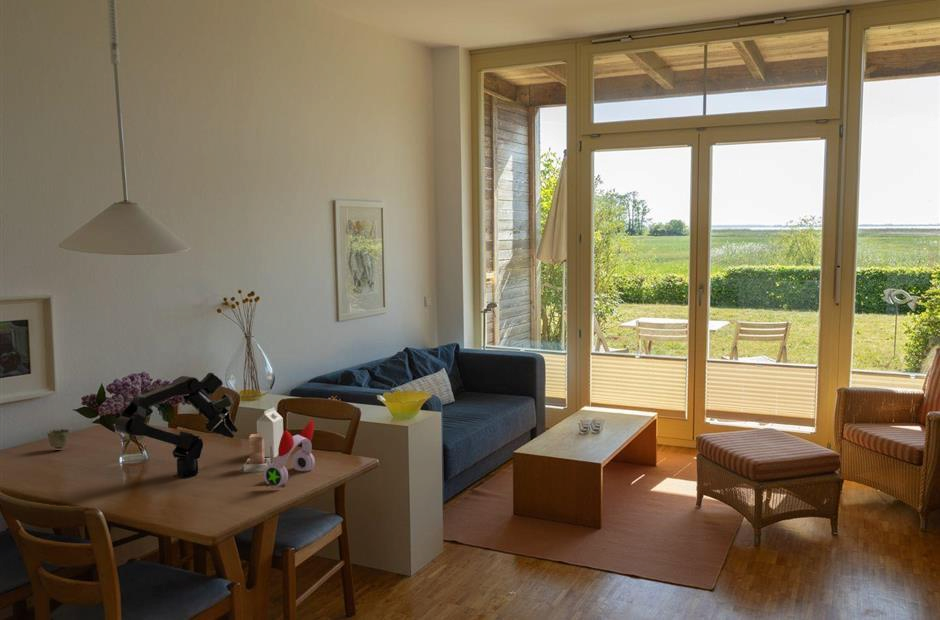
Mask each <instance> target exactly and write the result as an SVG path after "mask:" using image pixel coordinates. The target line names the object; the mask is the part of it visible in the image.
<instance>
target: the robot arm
mask: <svg viewBox="0 0 940 620" xmlns="http://www.w3.org/2000/svg"><path fill="white" fill-rule="evenodd" d="M222 386H223V380H222V379H220V378H219V377H218V376H217V375H216V374H214V372H208V373H207V374H206V375H205V376H204V377H203V378H202V379H201V380H198V378H197V377H195V376H188V375H181V376H179V377H177V378H176V379H174V380H172V382H171V383H169V384H167V385H165V386H162V387H160V388H156V389H153V390H151V391H148V392H146V393H143V394H141V395H136V396H134V397H132V399H131V401H130V403H129V404H128V405H127V406H126V407H125V408H124V409H123V410H122V411H121V413H120V415H119V417H118V418H116V420H115V422H114V428H115V431H116V432H117V433H121V434H125V435H129V436H133V437H134V436H135V437H136V436H137V437H138V436H139V437H146V438H149V439H153V440H156V441H159V442H162V443H167V444H169V445H172V446H173V447H175V448H174V449H173V450H172V452H171V454H172V456H173V458H176V472H177V473H174V475H173V476H174V477H177V478H184V479H189V478H191V477H195V476H197V475H198V473H199V464H198V463H199V460H198V459H200V458H201V454H202V450H203V448H204V441H203V439H202V438H200V435H199V434H198V435H197V434H193V433H191V432H187V431H181V430H180V432H179V434H176V433H173V432H170V431H167V430H164V429H161V428H157V427H154V426H151V425H149V424H148V423H146V422H145V419H146V417H147V410H148V409H149V407H150V406H153V405H155V404H158V403H160V402H161V403H162V402H163V401H166V400H168V399H172V398H173V397H176V396H182V397H181V405H182V406H185V404H186V403H187V402H188V403H189V404H190V405H191V406H192V407H193V408H194V409H195V410H196V411H197V412H198V414H199V416H202V417H204V418H205V419H206V423H205V429H206V430H207V431H208V432H212V433H216V434H219V435H222V436H225V437H228V438H230V439H233V438H234V437H235V435H234V433H237V432H238V431H239V430H238V428H237V425H235V423H234V421H233V420H232V419H231V411H230V410H231V409H230V408H229V407H231V406H233V405H234V400H233V397H232V396H231V395H228V394H227V393H224V394H222V395H221V396H220V397H221V398H220V399H219V400H217V401H216V400H214V399H210V397H212V396H214V394H215V393H216V392H217V391H218V390H219V389H221V388H222ZM208 396H209V397H208ZM134 414H135V415H134ZM133 415H134V417H133ZM233 432H234V433H233Z"/></svg>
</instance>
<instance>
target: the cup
mask: <svg viewBox="0 0 940 620" xmlns="http://www.w3.org/2000/svg"><path fill="white" fill-rule="evenodd" d="M47 438H48V442H49V445H50V447H52V448H53V450H54V449H62V448H64V449H65V447H66V446H67V443H68V442H69V429H65V428H63V429H62V428H61V429H60V430H59V429H57V430H56V429H52V430H49V431H47Z"/></svg>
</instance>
